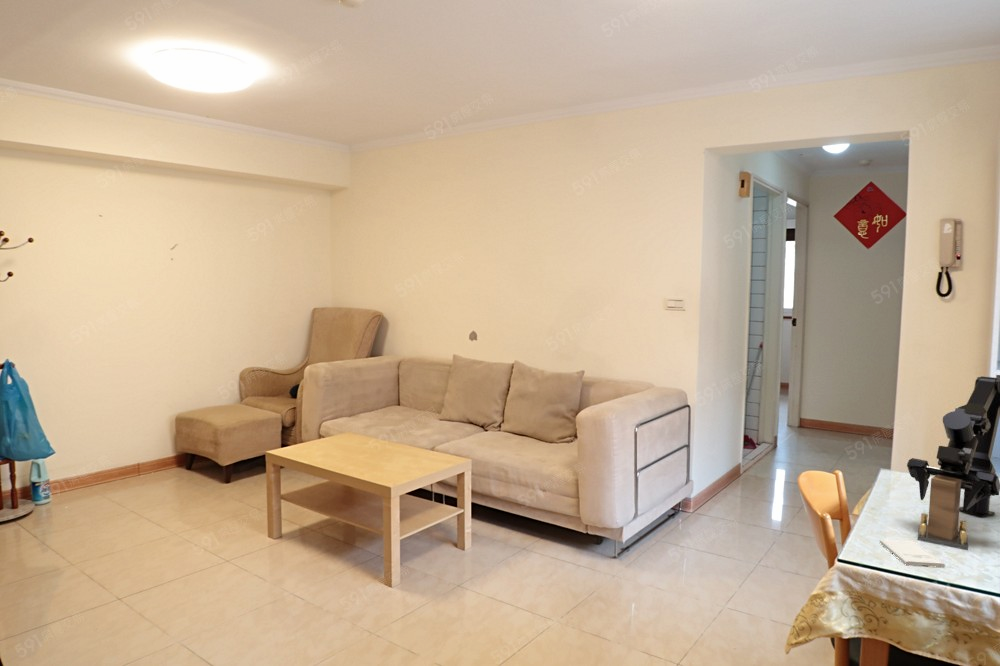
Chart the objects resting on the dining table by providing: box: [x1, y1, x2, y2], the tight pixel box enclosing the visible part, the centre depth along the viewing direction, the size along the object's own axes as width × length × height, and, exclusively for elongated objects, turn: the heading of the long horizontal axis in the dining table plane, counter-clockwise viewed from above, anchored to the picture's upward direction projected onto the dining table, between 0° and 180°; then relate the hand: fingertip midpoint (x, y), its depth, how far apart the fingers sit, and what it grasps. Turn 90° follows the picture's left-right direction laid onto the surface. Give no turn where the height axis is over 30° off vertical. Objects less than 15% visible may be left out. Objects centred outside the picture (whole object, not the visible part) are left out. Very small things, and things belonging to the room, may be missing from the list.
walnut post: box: [927, 475, 962, 540], centre depth 158 cm, size 5×5×14 cm
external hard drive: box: [879, 538, 946, 568], centre depth 148 cm, size 2×8×12 cm
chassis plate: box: [916, 513, 969, 551], centre depth 158 cm, size 10×10×4 cm
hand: (942, 504), depth 157 cm, fingers open, 9 cm apart
